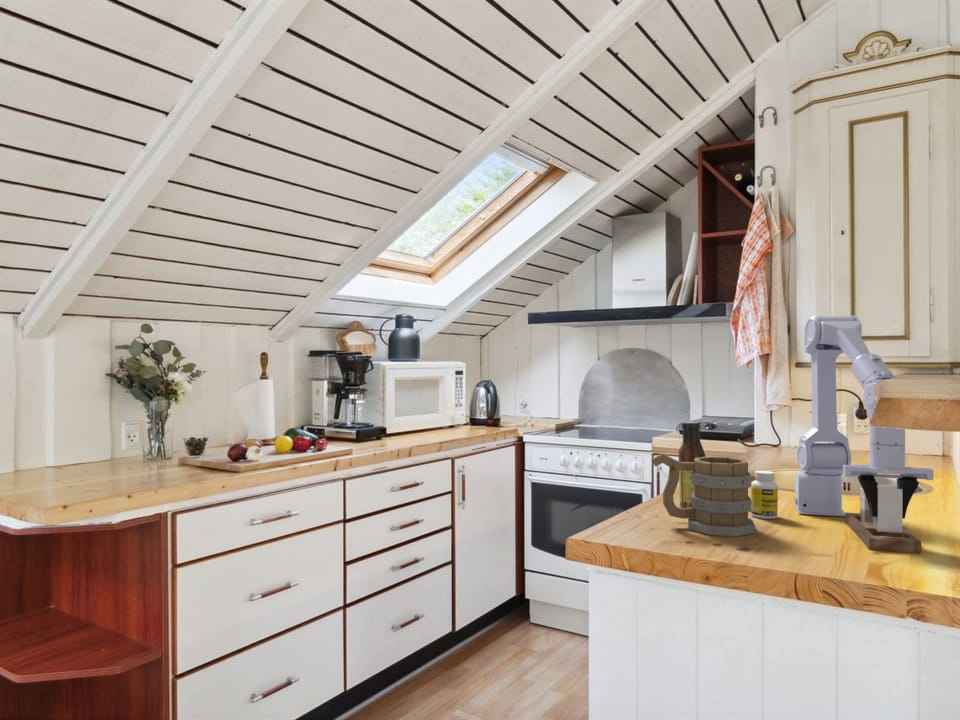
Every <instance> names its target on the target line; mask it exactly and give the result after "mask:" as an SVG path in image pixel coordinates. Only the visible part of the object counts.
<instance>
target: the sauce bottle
mask: <svg viewBox="0 0 960 720" xmlns="http://www.w3.org/2000/svg"><path fill="white" fill-rule="evenodd" d="M681 428H682V437H683V438H682V443H681V445H680V447H679V449H678V461H680V462H694V459H695V458H699V457H707V456H706V453H705V451H704V447H703V445H702V442H701V436H700V434H701V433H700V430H701V423H700V422H699V421H683V422H681ZM691 475H692V471H687V470H680V471H679V481H678V499H679V500H678V501H679V508H691V507H692V502H691V501H690V499H691V498H692V493H693V492H694V485H693V484H692V479H691V478H690V476H691Z"/></svg>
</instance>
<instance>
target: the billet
mask: <svg viewBox="0 0 960 720" xmlns="http://www.w3.org/2000/svg"><path fill="white" fill-rule="evenodd" d="M876 503H877V517H873V527H874V528H875V529H876V530H877V531H880V532H895V533H902V526H903V518H902V489H901V488H900V487H898V486H897V484H895V485H894V484H892V485H891V484H878V485H877V496H876Z"/></svg>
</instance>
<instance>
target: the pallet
mask: <svg viewBox="0 0 960 720" xmlns="http://www.w3.org/2000/svg"><path fill="white" fill-rule="evenodd" d="M859 494H860V495H859V499H860V500H859V501H860V503H859V504H860V505H859V507H860V508H859V510H860V511H859V513H858V512H857V513H855V512H845V513H846V517H845V523H846V524H847V525H848V527H849V528H850V529H851V530H852V531H853V533H854V534H855V535H856V536H857V537H858V539H860V541H861V540H862V541H861V542H862V543H863V544H864V545H865V546H866V548H868V550H869V551H870V550H871V551H885V552H898V553H901V552H902V553H910V554H911V553H912V554H922V541H920V540H919V539H918V538H917V537H916V536H915V535H914V534H912V533H911V532H910V531H909V530H908V529H906V528H905V527H904V526H903V525H902V533H895V532H880V531H877V530H876V529H875V528H874V527H873V517H872V516H871V515H870V509H869V505H868V501H867V498H866V495H865V493H864V490H863V488H862V487H860V488H859Z"/></svg>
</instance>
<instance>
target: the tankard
mask: <svg viewBox="0 0 960 720" xmlns="http://www.w3.org/2000/svg"><path fill="white" fill-rule="evenodd" d="M651 462H652V464H653V466H654V467H657V466H659V465H661V464H664V465H666V466H667V467H669V469H668V479H667V482H666V483H665V487H664V489H663V491H662V504H663V506H664V508H665V510H666V511H667V513H668V515H669V516H670V517H674V518H678V519H681V520H682V519H687V526H688V529H689V531H693V532H697V533H701V534H704V535H707V536H717V537H732V538H733V537H734V538H736V537H742V536H748V535H753V534H755V533H756V525H755V523H754V520H753V519H752V518H749V513H751V504H752V502H751V496H749V488H751V483H752V482H753V478H752V475H751V473H750V471H749V463H748V461H747V460H746V459H745V458H744V459H743V458H737V457H736V458H735V457H732V456H731V457H729V456H728V457H727V456H706V457H699V458H695V459H694V462H680V461H679V459H675V458H672V457H671V456H668V455H667V454H665V453H664V452H662V453H661V454H658V455H657V456H655V457H653V458H651ZM680 470H687V471H692V475H691V476H690V478H691V479H692V484H693V485H694V492H693V493H692V498H691V499H690V501H691V502H692V507H691V508H681V507H680V506H679V507H678V506H676V504H675V502H674V495H675V492H676V490H677V486H679V471H680Z"/></svg>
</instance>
